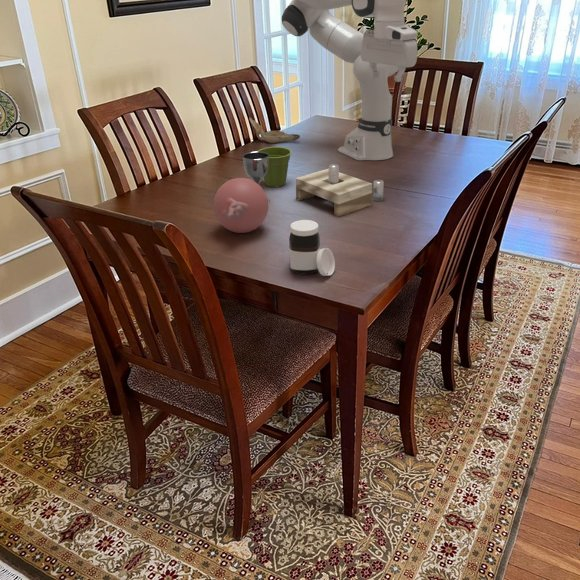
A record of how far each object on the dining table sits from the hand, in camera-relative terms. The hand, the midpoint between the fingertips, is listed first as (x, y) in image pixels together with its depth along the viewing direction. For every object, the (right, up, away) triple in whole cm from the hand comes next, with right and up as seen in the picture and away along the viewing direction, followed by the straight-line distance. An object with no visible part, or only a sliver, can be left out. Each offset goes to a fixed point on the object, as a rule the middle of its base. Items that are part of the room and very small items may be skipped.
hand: (386, 79), depth 184 cm
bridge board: (-16, -38, +4) cm, 41 cm away
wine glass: (-40, -37, +6) cm, 55 cm away
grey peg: (-16, -38, +4) cm, 41 cm away
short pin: (-2, -37, +5) cm, 37 cm away
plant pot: (-35, -29, +20) cm, 50 cm away
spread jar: (-24, -61, -35) cm, 74 cm away
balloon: (-44, -50, -15) cm, 68 cm away
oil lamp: (-36, -3, +65) cm, 75 cm away
